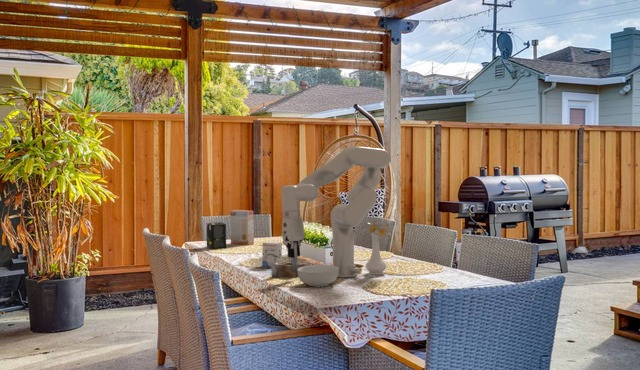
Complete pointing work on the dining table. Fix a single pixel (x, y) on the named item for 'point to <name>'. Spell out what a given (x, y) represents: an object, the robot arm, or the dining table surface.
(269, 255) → the ink box
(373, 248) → the flower vase
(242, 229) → the cracker box
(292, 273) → the walnut hole block
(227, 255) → the dining table surface
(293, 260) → the long steel pin
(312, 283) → the cereal bowl
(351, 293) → the dining table surface
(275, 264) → the short steel pin
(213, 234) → the tampon box
